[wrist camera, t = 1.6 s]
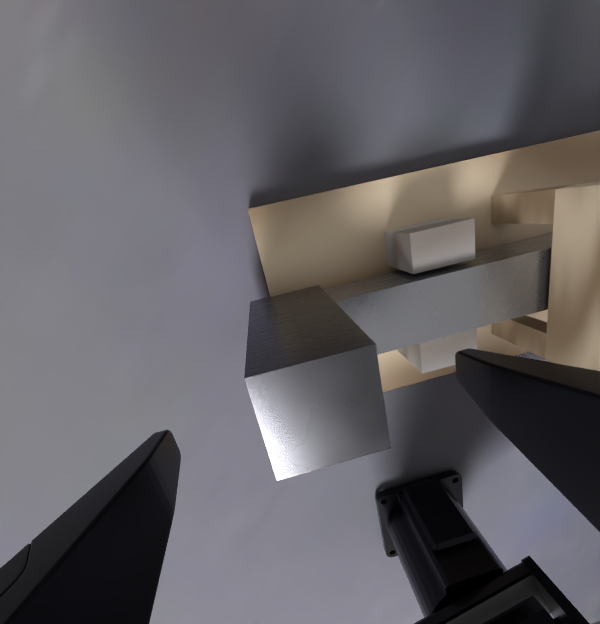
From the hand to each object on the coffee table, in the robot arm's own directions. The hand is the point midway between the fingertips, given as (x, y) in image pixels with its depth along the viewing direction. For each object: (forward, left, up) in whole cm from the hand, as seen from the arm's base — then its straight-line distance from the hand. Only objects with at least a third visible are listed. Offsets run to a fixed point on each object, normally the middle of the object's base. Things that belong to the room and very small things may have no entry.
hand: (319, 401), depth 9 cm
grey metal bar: (0, -9, -7) cm, 12 cm away
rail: (0, -10, -8) cm, 13 cm away
